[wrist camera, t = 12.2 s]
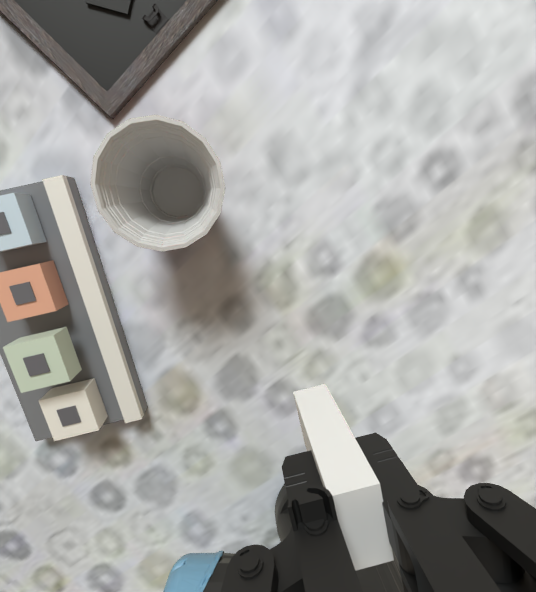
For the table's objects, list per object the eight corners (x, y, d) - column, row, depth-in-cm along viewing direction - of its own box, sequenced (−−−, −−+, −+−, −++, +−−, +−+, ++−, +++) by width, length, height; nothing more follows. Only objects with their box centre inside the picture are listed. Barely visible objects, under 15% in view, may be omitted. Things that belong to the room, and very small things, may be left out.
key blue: (46, 241, 40) (31, 244, 37) (-1, 252, 40) (-20, 255, 37) (30, 194, 39) (13, 192, 36) (-19, 205, 39) (-40, 204, 36)
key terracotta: (68, 304, 42) (55, 311, 39) (23, 314, 42) (6, 322, 39) (53, 260, 41) (38, 263, 38) (6, 270, 41) (-12, 275, 38)
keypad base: (147, 406, 48) (142, 419, 45) (43, 432, 47) (31, 446, 44) (73, 178, 41) (62, 175, 39) (-47, 204, 41) (-68, 203, 38)
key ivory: (107, 416, 45) (98, 430, 42) (65, 426, 45) (53, 442, 42) (94, 378, 44) (84, 390, 41) (51, 388, 44) (37, 401, 41)
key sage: (81, 369, 42) (69, 381, 38) (36, 380, 41) (20, 393, 38) (66, 326, 40) (52, 335, 37) (19, 337, 40) (1, 347, 37)
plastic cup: (153, 256, 44) (125, 271, 32) (112, 164, 42) (64, 144, 30) (241, 222, 44) (244, 224, 32) (204, 127, 42) (193, 93, 30)
